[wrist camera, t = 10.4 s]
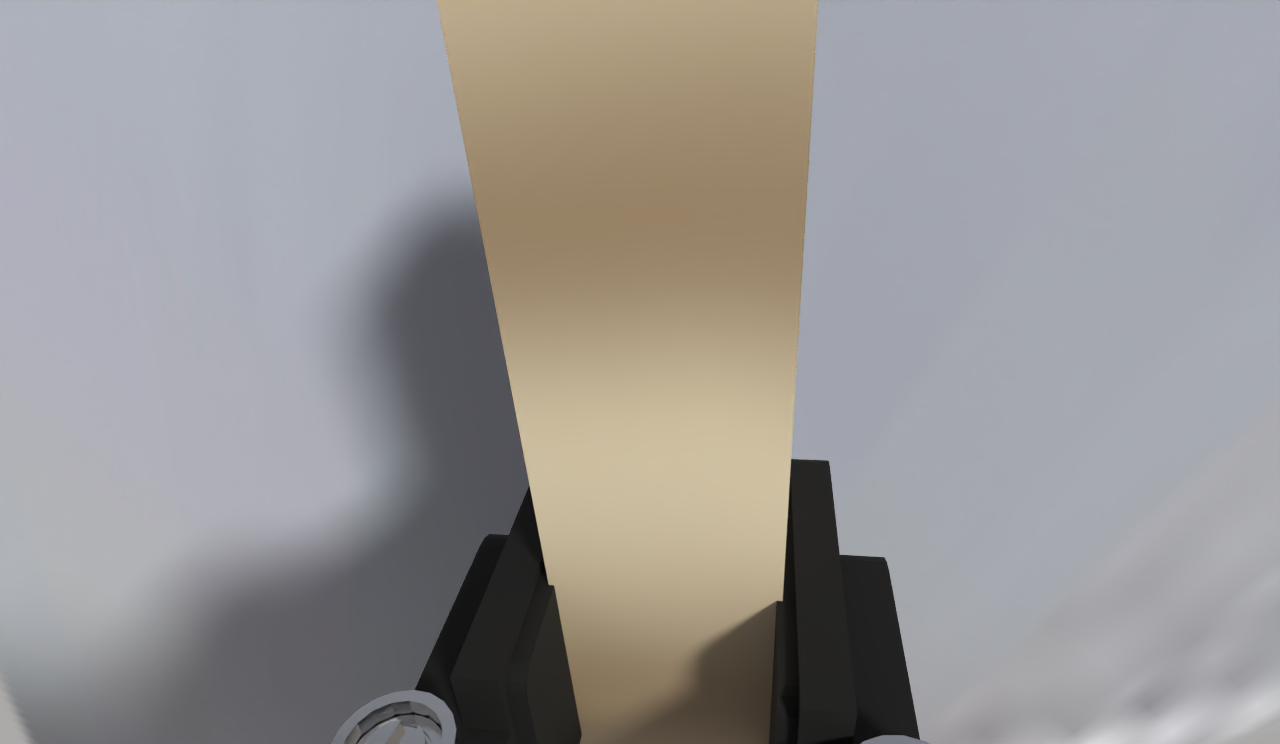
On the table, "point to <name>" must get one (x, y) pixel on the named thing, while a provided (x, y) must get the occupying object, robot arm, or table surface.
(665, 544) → the curved plank on base
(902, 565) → the table surface
